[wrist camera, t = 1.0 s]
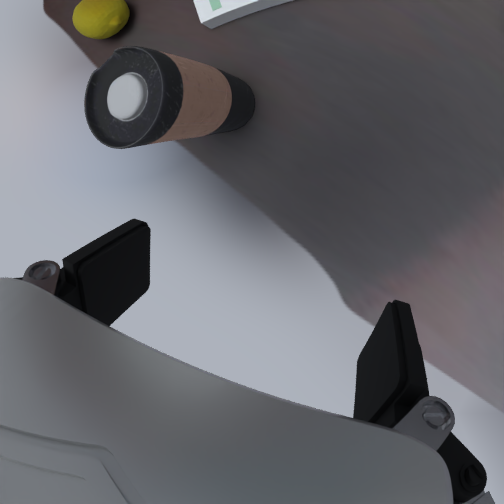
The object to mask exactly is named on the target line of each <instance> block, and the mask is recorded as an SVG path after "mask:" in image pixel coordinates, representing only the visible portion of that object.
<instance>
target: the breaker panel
mask: <svg viewBox="0 0 504 504" xmlns="http://www.w3.org/2000/svg"><path fill="white" fill-rule="evenodd" d="M193 1H194V3H195V6H196V9H197V12H198V15H199V18H200V21H201V23H202V24H203V25H205V26H207V27H209V28H211V29H213V28H215V27H217V26H220V25H222V24H225V23H227V22H230V21H232V20H235V19H237V18H240V17H243V16H246V15H248V14H251V13H254V12H257V11H260V10H263V9H266V8H269V7H272V6H276V5H279V4H283V3H286V2H290V1H293V0H193Z"/></svg>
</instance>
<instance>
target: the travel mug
mask: <svg viewBox="0 0 504 504" xmlns="http://www.w3.org/2000/svg"><path fill="white" fill-rule="evenodd" d="M84 105H85V115H86V119H87V123H88V125H89V128H90V130H91V132H92V133H93V135H94V136H95V137H96V138H97V140H99V141H100V142H101V143H103V144H104V145H106V146H108V147H111V148H116V149H125V148H131V147H136V146H141V145H147V144H153V143H158V142H165V141H172V140H179V139H186V138H194V137H201V136H206V135H211V134H216V133H221V132H227V131H232V130H235V129H238V128H240V127H242V126H243V125H244V124H246V123H247V122H248V120H249V119H250V118H251V116H252V114H253V111H254V107H255V99H254V95H253V92H252V90H251V88H250V87H249V86H248V85H247V84H246V83H245V82H244V81H242V80H241V79H239V78H237V77H234V76H232V75H230V74H228V73H226V72H223V71H221V70H219V69H217V68H214V67H212V66H209V65H206V64H203V63H200V62H196V61H193V60H190V59H186V58H183V57H179V56H176V55H172V54H168V53H164V52H160V51H156V50H152V49H148V48H143V47H137V46H126V47H121V48H118V49H116V50H114V53H113V55H112V56H111V57H110V58H109V59H108V60H107V61H106V62H105V63H104V64H103V65H102V66H101V67H100V68H98V69H96V70H95V71H94V72H93V73H92V75H91V77H90V79H89V81H88V85H87V88H86V93H85V104H84Z"/></svg>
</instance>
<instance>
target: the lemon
mask: <svg viewBox="0 0 504 504" xmlns="http://www.w3.org/2000/svg"><path fill="white" fill-rule="evenodd" d="M129 13H130V12H129V8H128V6H127V4H126V2H125V1H124V0H83V1H81V2H80V3H79V4H78V5H77V6H76V8H75V10H74V13H73V23H74V25H75V27H76V29H77V30H78V31H79V32H80V33H81V34H83V35H84V36H86V37H89V38H95V39H105V38H108V37H110V36H112V35H114V34H116V33H118V32H119V31H120V30H121V29H122V28H123V27H124V26H125V24H126V23H127V21H128V18H129Z"/></svg>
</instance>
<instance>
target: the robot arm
mask: <svg viewBox="0 0 504 504" xmlns="http://www.w3.org/2000/svg"><path fill="white" fill-rule="evenodd" d="M62 260H63V268H62V269H60V266H59V265H58V264H57V263H56V262H54V261H48V260H45V261H39V262H36V263H34V264H32V265H30V266H29V267H28V268H27V270H26V271H25V273H24V276H23V277H22V278H0V504H495V502H494V500H493V498H492V496H491V494H490V492H489V491H488V492H486V493H485V492H484V488H485V486H486V481H487V476H486V471H485V469H484V467H483V465H482V464H481V463H480V462H479V461H478V460H477V459H476V458H475V456H474V455H473V454H472V453H471V452H470V451H469V450H468V449H467V448H466V447H465V446H464V445H463V444H462V443H461V442H460V441H459V440H458V439H457V438H456V437H455V436H454V435H453V433H452V432H451V430H452V429H453V426H454V424H455V417H454V413H453V411H452V409H451V407H450V406H449V405H448V404H447V403H446V402H445V401H443V400H442V399H440V398H438V397H435V396H429V390H428V384H427V378H426V373H425V367H424V361H423V356H422V351H421V347H420V344H419V342H418V337H417V333H416V328H415V324H414V320H413V316H412V312H411V308H410V305H409V304H408V303H405V302H401V301H398V300H394V301H393V302H392V303H391V302H388V303H387V305H386V307H385V309H384V311H383V313H382V315H381V317H380V319H379V321H378V322H377V324H376V326H375V328H374V330H373V332H372V334H371V336H370V337H369V339H368V341H367V343H366V345H365V346H364V348H363V350H362V352H361V353H360V355H359V358H358V361H357V375H356V392H355V404H354V416H353V418H350V417H346V416H343V415H339V414H334V413H330V412H327V411H323V410H320V409H316V408H312V407H309V406H306V405H302V404H299V403H295V402H292V401H289V400H285V399H282V398H279V397H275V396H273V395H270V394H266V393H264V392H260V391H257V390H255V389H252V388H249V387H246V386H243V385H240V384H238V383H235V382H232V381H230V380H227V379H225V378H222V377H219V376H217V375H214V374H212V373H209V372H207V371H204V370H202V369H199V368H197V367H194V366H192V365H190V364H187V363H185V362H182V361H180V360H178V359H176V358H173V357H171V356H169V355H167V354H165V353H162V352H160V351H158V350H156V349H154V348H152V347H149V346H147V345H145V344H143V343H141V342H139V341H137V340H135V339H133V338H131V337H129V336H127V335H125V334H123V333H121V332H119V331H117V330H115V329H113V328H111V327H109V326H110V325H111V324H112V323H113V322H114V321H115V320H116V319H117V318H118V317H119V316H120V315H122V314H123V313H124V312H125V311H126V310H127V309H128V308H129V307H130V306H131V305H132V304H133V303H134V302H136V301H137V300H138V299H139V298H140V297H141V296H142V295H143V294H144V293H145V292H146V291H147V290H148V288H149V285H150V228H149V227H148V225H147V223H146V222H143V221H140V220H137V219H132V220H130V221H128V222H126V223H124V224H122V225H121V226H119V227H117V228H115V229H113V230H112V231H110V232H108V233H106V234H104V235H103V236H101V237H99V238H97V239H96V240H94V241H92V242H90V243H89V244H87V245H85V246H84V247H82V248H80V249H79V250H77V251H75V252H73V253H72V254H70V255H69V256H67V257H65V258H64V259H62Z"/></svg>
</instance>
